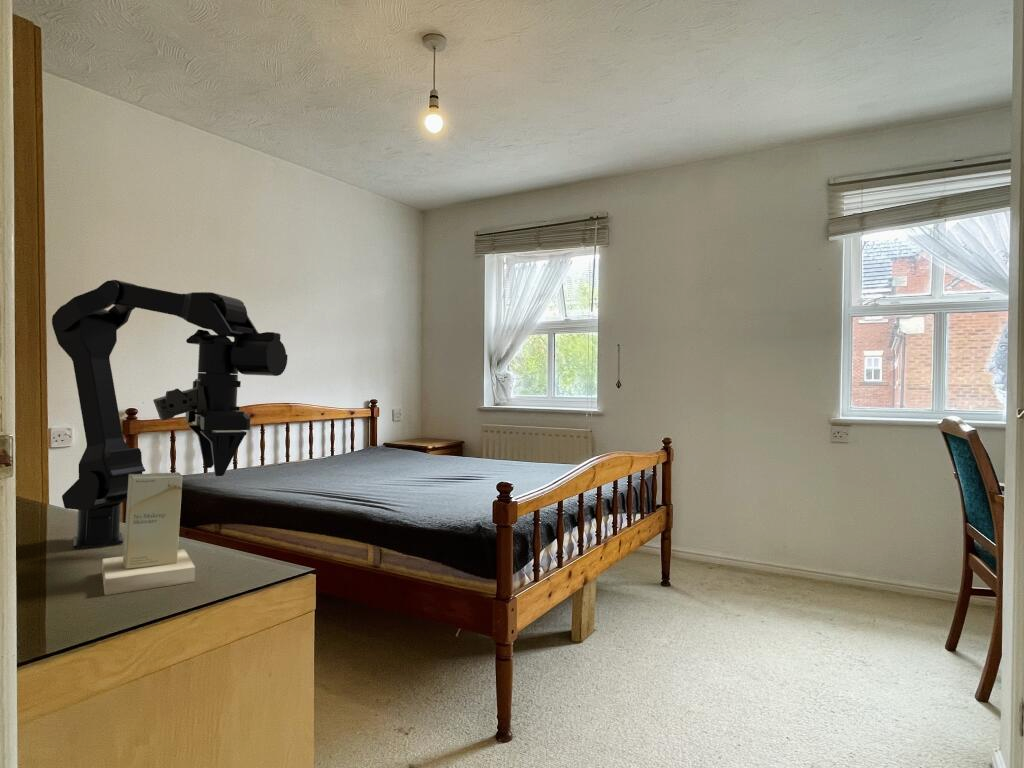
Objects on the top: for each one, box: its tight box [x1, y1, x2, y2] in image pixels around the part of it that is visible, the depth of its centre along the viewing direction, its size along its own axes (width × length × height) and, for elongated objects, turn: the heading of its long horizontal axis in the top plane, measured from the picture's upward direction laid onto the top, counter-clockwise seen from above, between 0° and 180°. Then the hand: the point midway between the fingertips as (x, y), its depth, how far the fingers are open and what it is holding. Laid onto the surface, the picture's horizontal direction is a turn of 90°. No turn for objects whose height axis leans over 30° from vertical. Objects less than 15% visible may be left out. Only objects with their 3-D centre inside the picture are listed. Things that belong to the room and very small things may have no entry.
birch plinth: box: [101, 548, 196, 596], centre depth 79 cm, size 10×10×2 cm
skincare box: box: [122, 471, 184, 569], centre depth 79 cm, size 6×4×12 cm
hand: (213, 471), depth 91 cm, fingers open, 9 cm apart
